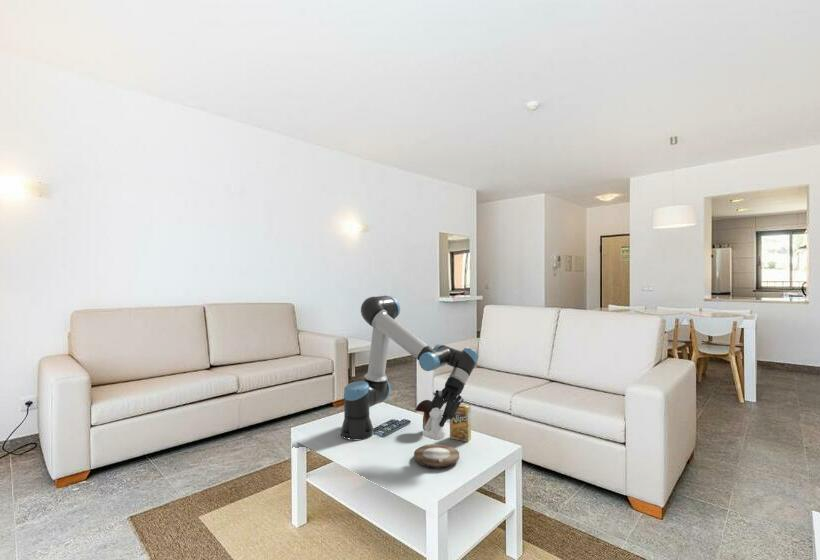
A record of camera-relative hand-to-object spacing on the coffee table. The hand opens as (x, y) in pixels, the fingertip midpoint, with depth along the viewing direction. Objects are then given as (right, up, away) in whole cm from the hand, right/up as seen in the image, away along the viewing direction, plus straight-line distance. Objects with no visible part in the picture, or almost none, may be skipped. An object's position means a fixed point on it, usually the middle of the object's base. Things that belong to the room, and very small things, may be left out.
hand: (430, 431), depth 158 cm
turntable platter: (+3, -11, +3) cm, 11 cm away
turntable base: (+3, -12, +3) cm, 13 cm away
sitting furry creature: (+3, -4, +3) cm, 5 cm away
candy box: (+15, -12, +24) cm, 31 cm away
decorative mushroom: (0, -13, +33) cm, 35 cm away
